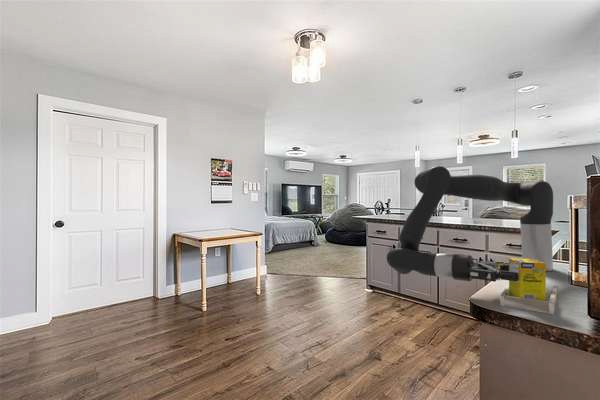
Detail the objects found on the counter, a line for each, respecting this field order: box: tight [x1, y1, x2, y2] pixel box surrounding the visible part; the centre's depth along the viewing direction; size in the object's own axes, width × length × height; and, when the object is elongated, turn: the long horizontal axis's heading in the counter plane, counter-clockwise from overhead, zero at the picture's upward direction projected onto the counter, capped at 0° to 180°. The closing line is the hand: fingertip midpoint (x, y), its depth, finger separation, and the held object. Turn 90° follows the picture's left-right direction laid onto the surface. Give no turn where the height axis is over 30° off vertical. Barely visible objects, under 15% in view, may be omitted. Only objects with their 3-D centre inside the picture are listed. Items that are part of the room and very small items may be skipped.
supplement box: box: [508, 257, 547, 301], centre depth 79 cm, size 6×6×11 cm
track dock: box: [499, 285, 559, 315], centre depth 83 cm, size 22×11×2 cm, turn 137°
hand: (520, 273), depth 79 cm, fingers open, 8 cm apart
